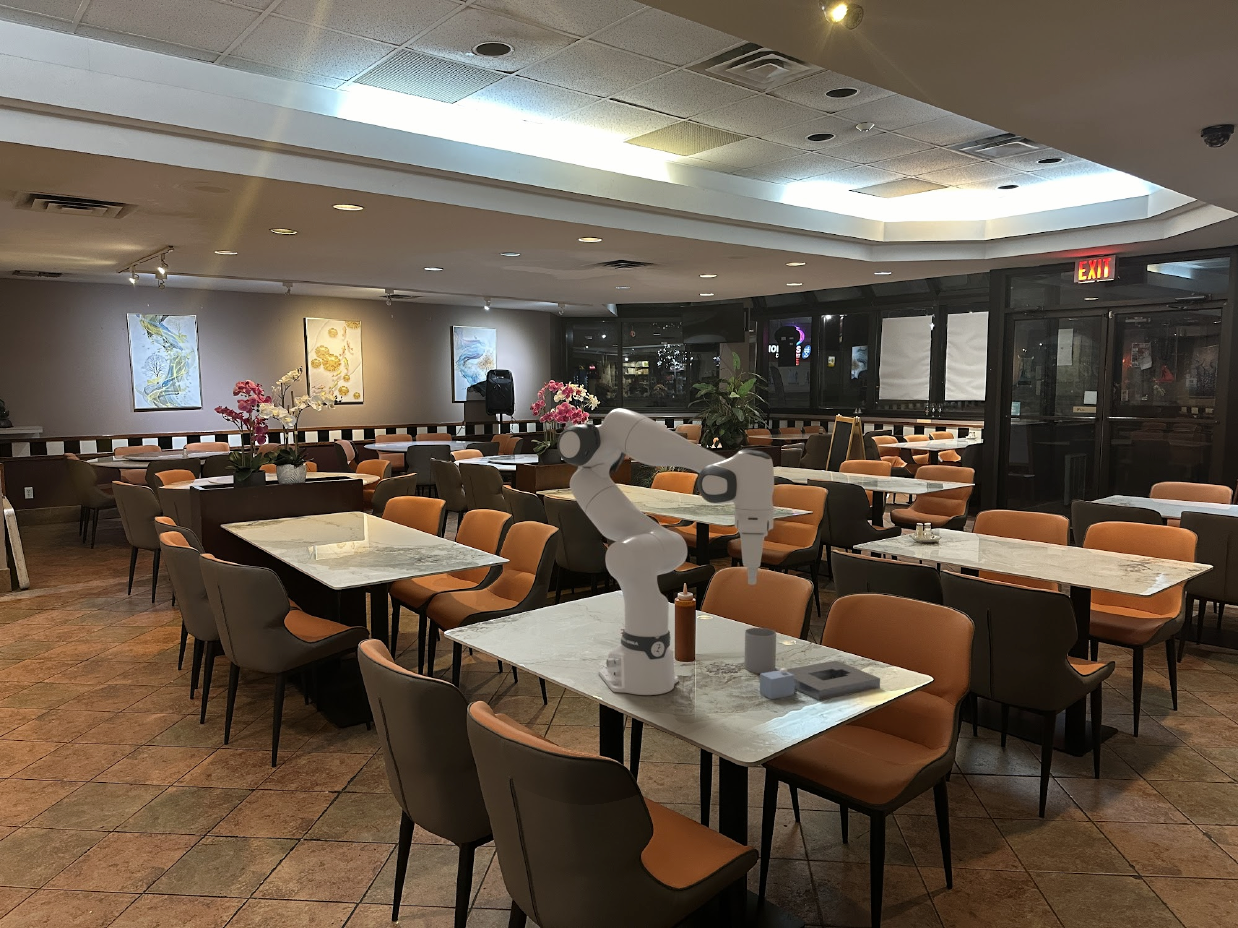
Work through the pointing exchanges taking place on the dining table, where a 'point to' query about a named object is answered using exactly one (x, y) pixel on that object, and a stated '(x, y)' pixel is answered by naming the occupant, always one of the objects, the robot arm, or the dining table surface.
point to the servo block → (777, 684)
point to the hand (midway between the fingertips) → (753, 579)
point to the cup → (760, 650)
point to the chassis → (832, 680)
